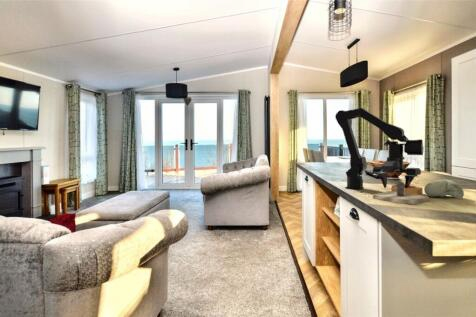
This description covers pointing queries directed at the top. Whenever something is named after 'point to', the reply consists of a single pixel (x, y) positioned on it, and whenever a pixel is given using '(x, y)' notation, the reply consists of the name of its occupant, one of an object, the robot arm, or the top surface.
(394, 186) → the orange ring
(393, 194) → the hook stand
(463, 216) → the top surface
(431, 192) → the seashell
